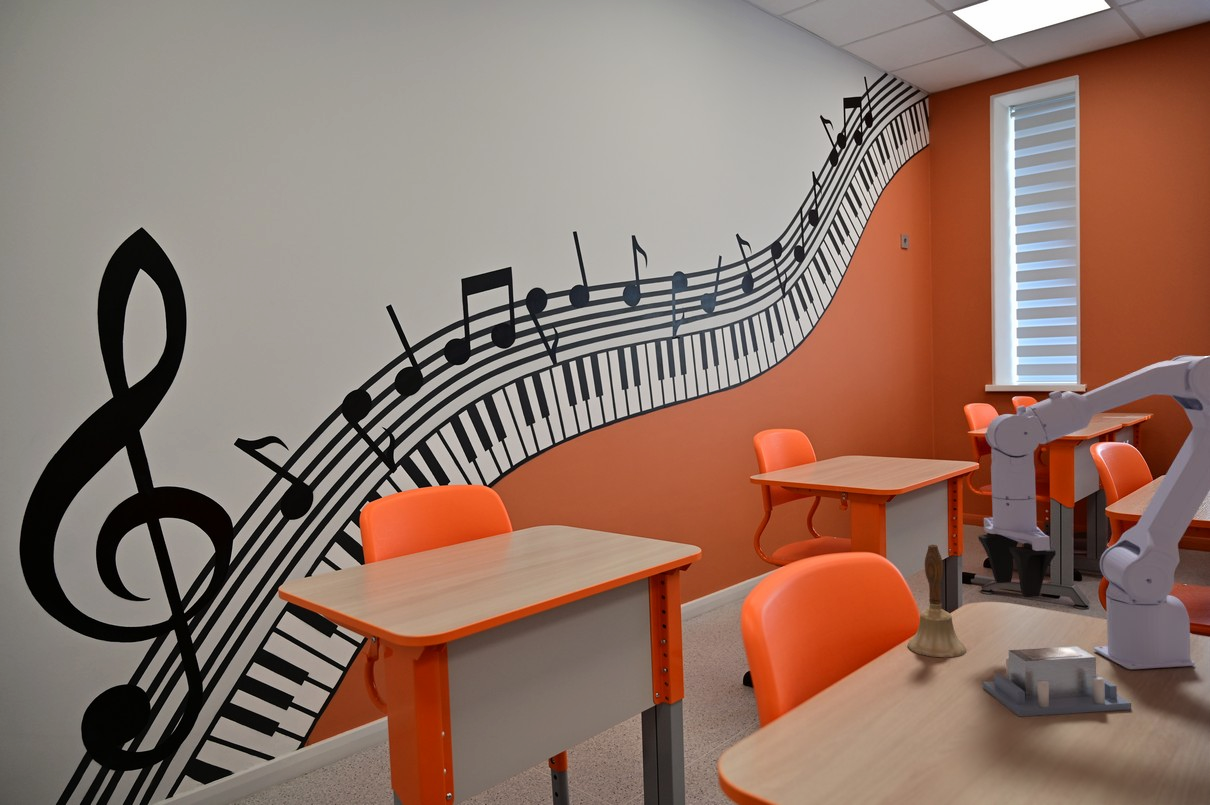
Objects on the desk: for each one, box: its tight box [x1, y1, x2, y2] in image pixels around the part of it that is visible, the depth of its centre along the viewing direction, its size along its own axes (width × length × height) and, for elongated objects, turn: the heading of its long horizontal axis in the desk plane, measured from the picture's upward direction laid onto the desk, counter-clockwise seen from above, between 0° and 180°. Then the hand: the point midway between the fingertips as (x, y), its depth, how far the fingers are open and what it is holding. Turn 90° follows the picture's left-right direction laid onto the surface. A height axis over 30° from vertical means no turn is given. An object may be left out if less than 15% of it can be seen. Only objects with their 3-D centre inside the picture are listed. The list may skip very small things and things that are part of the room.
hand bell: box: [907, 544, 967, 659], centre depth 124 cm, size 8×8×16 cm
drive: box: [1008, 645, 1097, 700], centre depth 104 cm, size 9×4×5 cm, turn 91°
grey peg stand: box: [982, 658, 1132, 717], centre depth 104 cm, size 14×9×4 cm, turn 92°
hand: (1016, 588), depth 119 cm, fingers open, 7 cm apart
